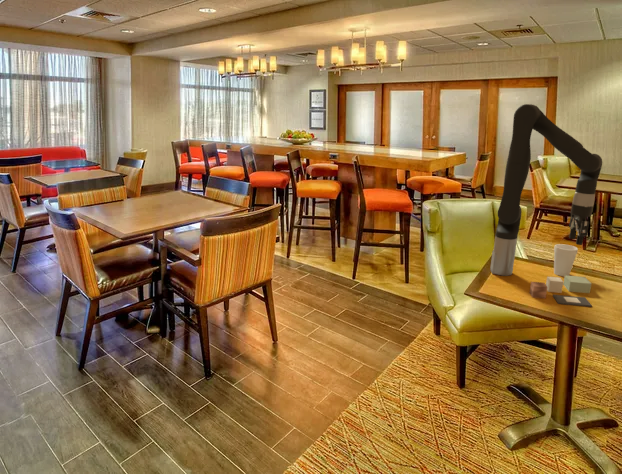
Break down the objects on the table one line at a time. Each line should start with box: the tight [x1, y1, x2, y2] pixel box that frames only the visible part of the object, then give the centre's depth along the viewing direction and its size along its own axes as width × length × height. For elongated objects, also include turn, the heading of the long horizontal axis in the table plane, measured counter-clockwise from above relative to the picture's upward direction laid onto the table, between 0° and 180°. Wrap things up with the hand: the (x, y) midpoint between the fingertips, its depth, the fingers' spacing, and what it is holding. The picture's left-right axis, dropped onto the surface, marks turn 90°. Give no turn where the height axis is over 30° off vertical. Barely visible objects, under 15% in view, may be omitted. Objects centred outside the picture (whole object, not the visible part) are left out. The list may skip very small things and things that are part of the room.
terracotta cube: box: [529, 281, 548, 300], centre depth 189 cm, size 5×5×5 cm
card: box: [552, 294, 593, 308], centre depth 184 cm, size 12×8×1 cm, turn 78°
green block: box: [563, 275, 592, 294], centre depth 197 cm, size 8×8×4 cm
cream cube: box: [545, 276, 564, 294], centre depth 195 cm, size 5×5×5 cm
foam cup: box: [553, 243, 579, 277], centre depth 212 cm, size 10×9×13 cm
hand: (575, 241), depth 193 cm, fingers open, 8 cm apart
